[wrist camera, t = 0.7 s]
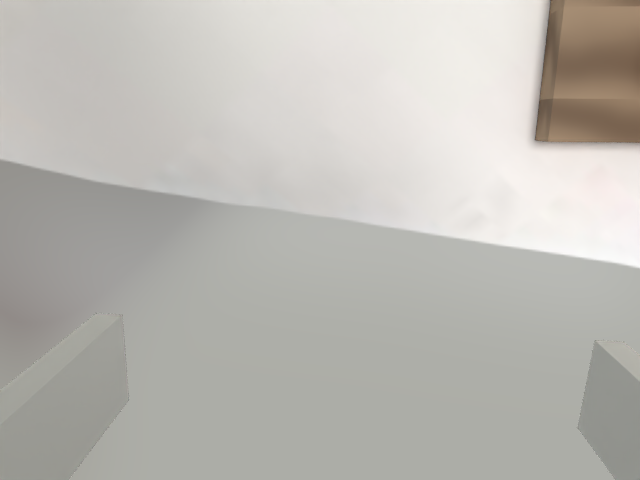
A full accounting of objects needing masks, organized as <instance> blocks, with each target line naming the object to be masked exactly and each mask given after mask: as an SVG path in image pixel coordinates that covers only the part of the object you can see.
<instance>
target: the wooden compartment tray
mask: <svg viewBox="0 0 640 480" xmlns="http://www.w3.org/2000/svg"><path fill="white" fill-rule="evenodd" d="M535 140H538V141H547V142H638V143H640V0H551V3H550V12H549V21H548V30H547V39H546V48H545V57H544V66H543V75H542V84H541V93H540V102H539V111H538V120H537V128H536V137H535Z"/></svg>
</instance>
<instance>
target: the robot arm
mask: <svg viewBox="0 0 640 480" xmlns="http://www.w3.org/2000/svg"><path fill="white" fill-rule="evenodd" d="M128 401H129V393H128V380H127V367H126V354H125V341H124V328H123V315H122V314H104V313H103V314H102V313H96V314H94V315H93V316H92V317H91V318H89V319H88V320H87V321H86V322H84V323H83V324H82V325H81V326H79V327H78V328H77V329H76V330H75V331H73V332H72V333H71V334H70V335H68V336H67V337H66V338H65V339H63V340H62V341H61V342H60V343H58V344H57V345H56V346H55V347H53V348H52V349H51V350H50V351H48V352H47V353H46V354H45V355H43V356H42V357H41V358H40V359H38V360H37V361H36V362H35V363H33V364H32V365H31V366H30V367H28V368H27V369H26V370H25V371H24V372H22V373H21V374H20V375H18V376H17V377H16V378H15V379H14V380H12V381H11V382H10V383H9V384H7V385H6V386H5V387H4V388H2V389H1V390H0V480H69V479H70V477H71V476H72V475H73V473H74V472H75V471H76V470H77V468H78V467H79V466H80V464H81V463H82V462H83V460H84V459H85V458H86V456H87V455H88V453H89V452H90V451H91V449H92V448H93V447H94V446H95V444H96V443H97V441H98V440H99V439H100V438H101V436H102V435H103V434H104V432H105V431H106V430H107V428H108V427H109V426H110V424H111V423H112V422H113V421H114V419H115V418H116V417H117V415H118V414H119V412H120V411H121V410H122V409H123V407H124V406H125V405H126V403H127V402H128ZM578 429H579V430H580V432H581V433H582V435H583V436H584V437H585V439H586V440H587V442H588V443H589V444H590V446H591V447H592V448H593V450H594V451H595V452H596V454H597V455H598V457H599V458H600V459H601V461H602V462H603V463H604V465H605V466H606V467H607V469H608V470H609V472H610V473H611V474H612V476H613V477H614V479H615V480H640V355H639V354H638V353H637V352H635V351H634V350H633V349H632V348H630V347H629V346H628V345H627V344H625V343H624V342H620V341H600V340H595V342H594V347H593V351H592V357H591V362H590V367H589V372H588V377H587V382H586V387H585V392H584V397H583V403H582V407H581V413H580V418H579V423H578Z"/></svg>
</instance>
